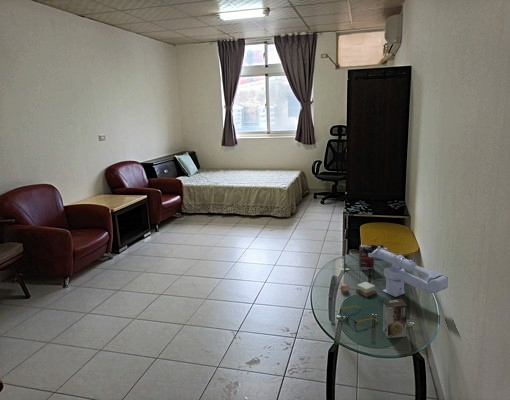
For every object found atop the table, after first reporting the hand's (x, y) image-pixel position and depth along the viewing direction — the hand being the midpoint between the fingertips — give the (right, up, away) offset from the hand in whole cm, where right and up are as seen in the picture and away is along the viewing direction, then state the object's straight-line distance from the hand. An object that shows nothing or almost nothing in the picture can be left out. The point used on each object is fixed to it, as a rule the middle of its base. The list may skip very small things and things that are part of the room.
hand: (367, 247), depth 231 cm
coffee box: (-2, -34, -52) cm, 62 cm away
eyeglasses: (-15, -32, -36) cm, 51 cm away
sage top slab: (-4, -23, -10) cm, 25 cm away
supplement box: (+6, -17, +23) cm, 29 cm away
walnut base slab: (-3, -25, -10) cm, 27 cm away
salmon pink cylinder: (-15, -25, -8) cm, 30 cm away
